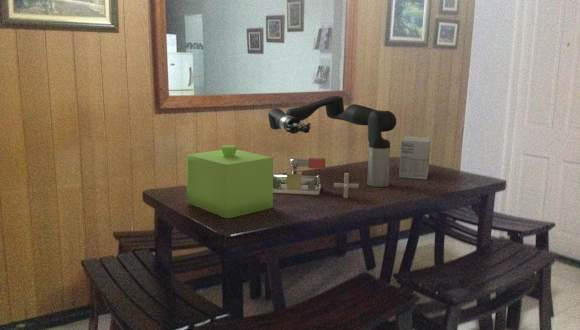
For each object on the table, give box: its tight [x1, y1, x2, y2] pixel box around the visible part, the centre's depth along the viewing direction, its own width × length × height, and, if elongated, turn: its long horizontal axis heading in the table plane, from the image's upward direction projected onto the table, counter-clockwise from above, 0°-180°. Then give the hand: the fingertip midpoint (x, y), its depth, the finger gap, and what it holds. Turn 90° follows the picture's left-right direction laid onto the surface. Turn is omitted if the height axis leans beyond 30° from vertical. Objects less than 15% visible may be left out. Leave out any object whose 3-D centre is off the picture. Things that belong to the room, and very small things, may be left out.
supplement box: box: [398, 135, 432, 181], centre depth 247 cm, size 17×13×18 cm
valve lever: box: [289, 157, 327, 170], centre depth 213 cm, size 15×4×4 cm, turn 85°
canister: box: [185, 144, 274, 220], centre depth 189 cm, size 25×21×23 cm
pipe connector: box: [333, 172, 360, 199], centre depth 205 cm, size 10×10×10 cm
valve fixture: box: [273, 167, 322, 196], centre depth 215 cm, size 22×12×10 cm, turn 83°
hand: (307, 130), depth 223 cm, fingers closed
